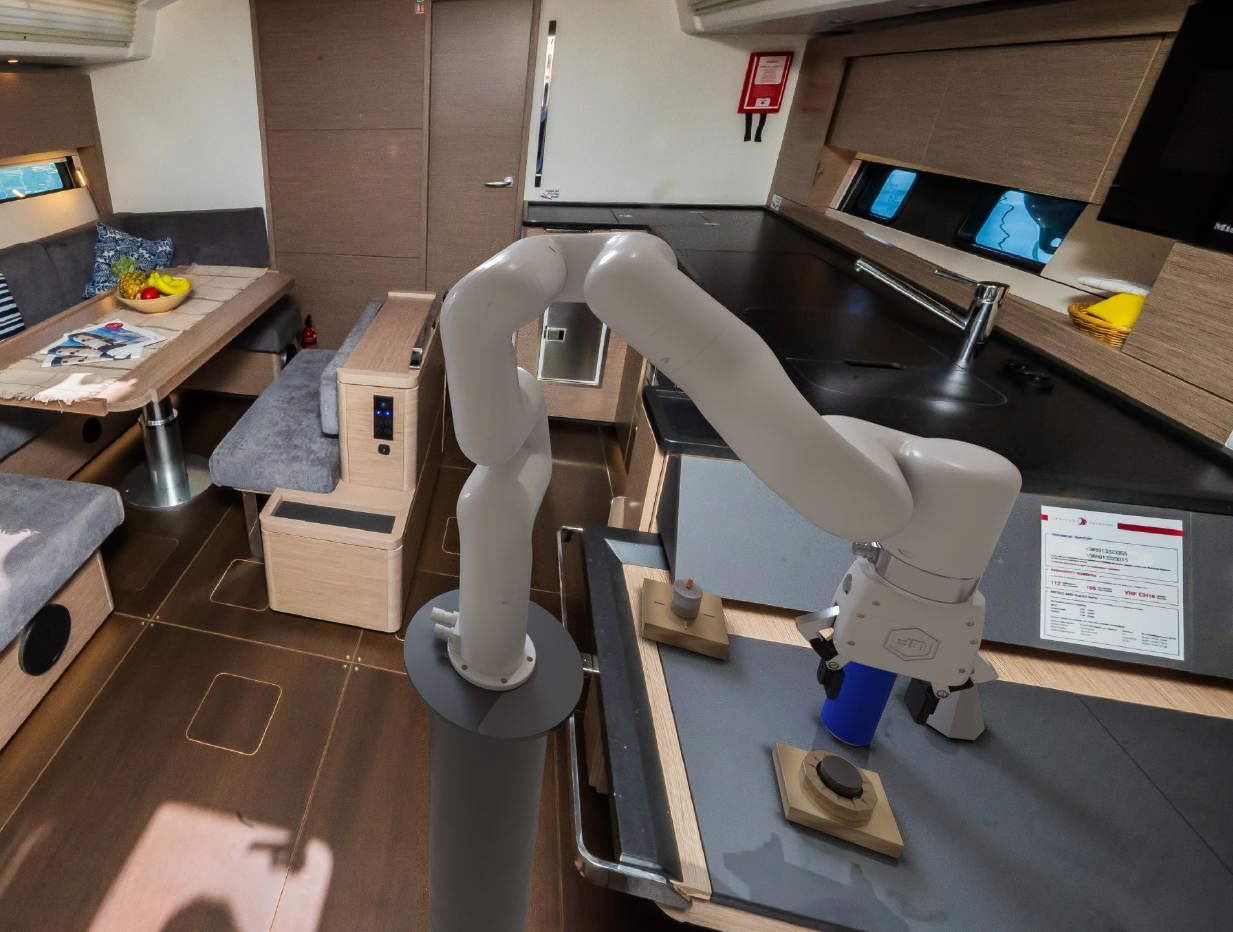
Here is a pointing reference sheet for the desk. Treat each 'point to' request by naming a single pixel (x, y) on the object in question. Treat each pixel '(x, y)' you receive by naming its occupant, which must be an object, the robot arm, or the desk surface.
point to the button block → (835, 802)
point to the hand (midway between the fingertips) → (869, 699)
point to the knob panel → (684, 621)
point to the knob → (686, 598)
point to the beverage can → (858, 703)
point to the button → (840, 776)
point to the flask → (959, 715)
